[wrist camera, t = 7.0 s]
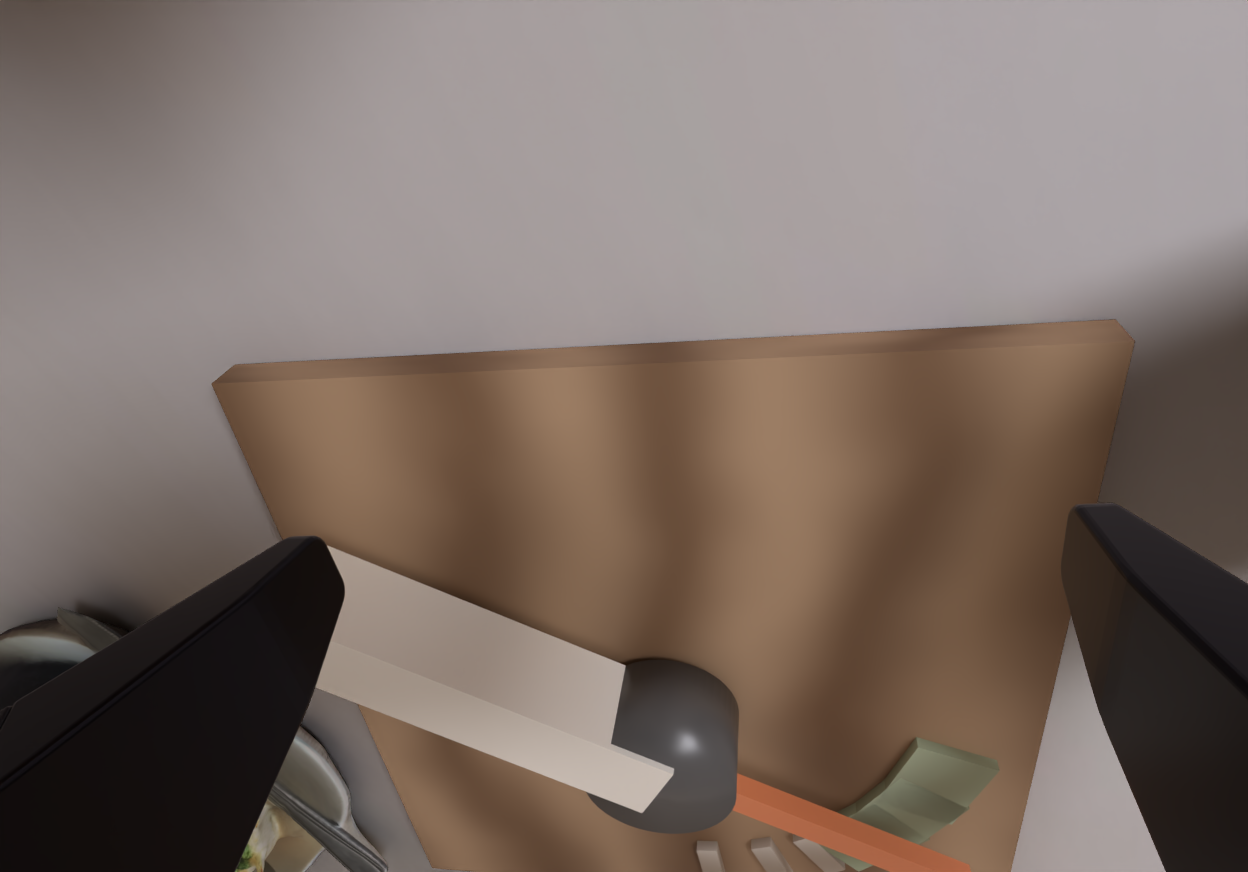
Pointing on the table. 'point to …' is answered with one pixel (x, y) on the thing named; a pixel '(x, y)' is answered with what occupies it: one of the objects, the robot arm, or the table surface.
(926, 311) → the table surface
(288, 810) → the salad plate
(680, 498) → the cutting board
